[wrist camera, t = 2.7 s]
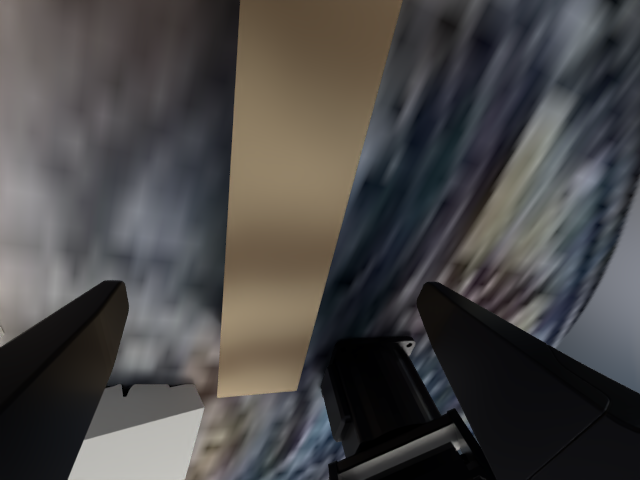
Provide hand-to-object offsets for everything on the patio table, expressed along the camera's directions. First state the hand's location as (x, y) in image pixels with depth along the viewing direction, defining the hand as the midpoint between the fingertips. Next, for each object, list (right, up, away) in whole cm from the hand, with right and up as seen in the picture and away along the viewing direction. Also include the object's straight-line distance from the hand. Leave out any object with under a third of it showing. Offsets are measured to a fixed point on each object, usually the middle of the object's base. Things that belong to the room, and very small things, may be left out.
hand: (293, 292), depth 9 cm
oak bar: (-2, +4, +6) cm, 7 cm away
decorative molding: (-18, -22, +19) cm, 34 cm away
